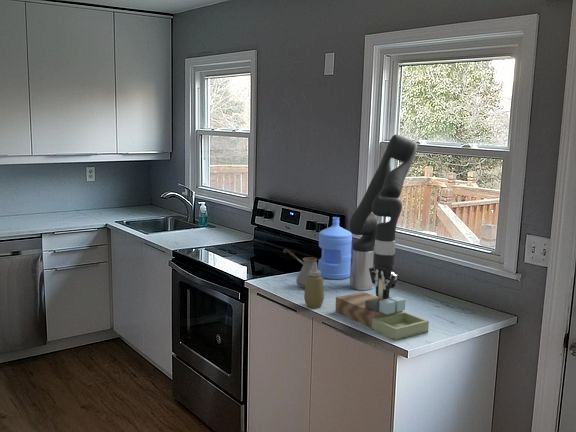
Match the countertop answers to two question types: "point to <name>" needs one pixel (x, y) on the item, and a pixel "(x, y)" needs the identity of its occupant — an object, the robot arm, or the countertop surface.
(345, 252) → the water jug
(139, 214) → the countertop surface
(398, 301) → the light blue block
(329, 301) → the countertop surface
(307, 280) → the squeeze bottle
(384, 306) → the pale blue cube
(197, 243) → the countertop surface
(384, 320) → the bin
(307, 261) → the coffee pot
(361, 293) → the flat wooden board
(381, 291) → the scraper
